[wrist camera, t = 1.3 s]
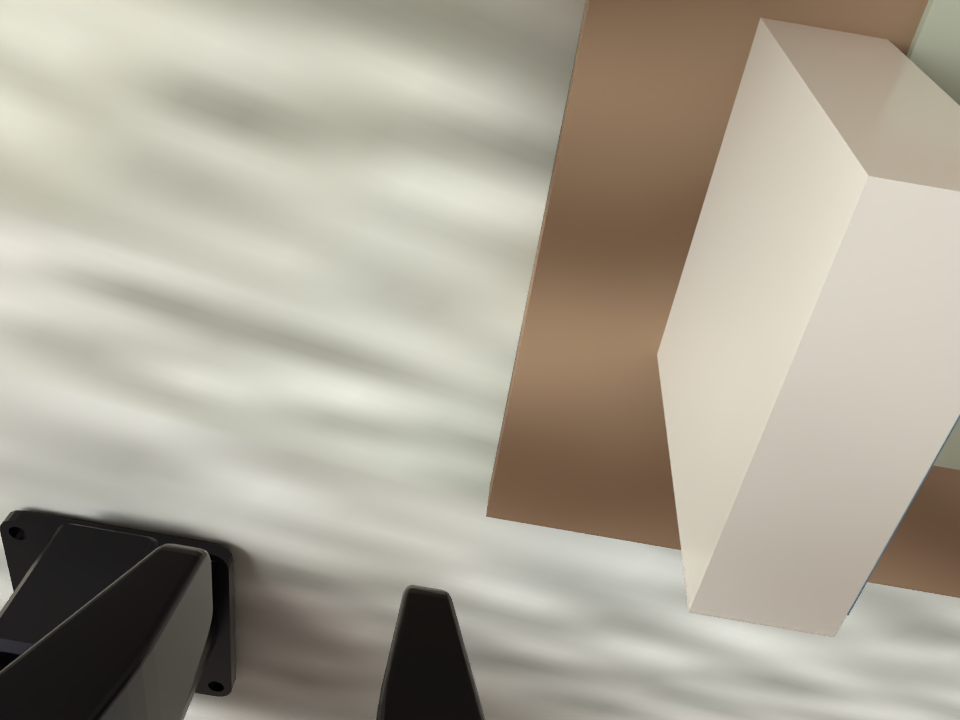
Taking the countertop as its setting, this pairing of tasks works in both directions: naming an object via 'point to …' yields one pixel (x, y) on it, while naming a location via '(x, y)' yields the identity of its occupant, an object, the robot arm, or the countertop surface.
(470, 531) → the countertop surface
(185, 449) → the countertop surface
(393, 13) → the countertop surface
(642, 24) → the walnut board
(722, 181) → the glazed tile
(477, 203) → the countertop surface
